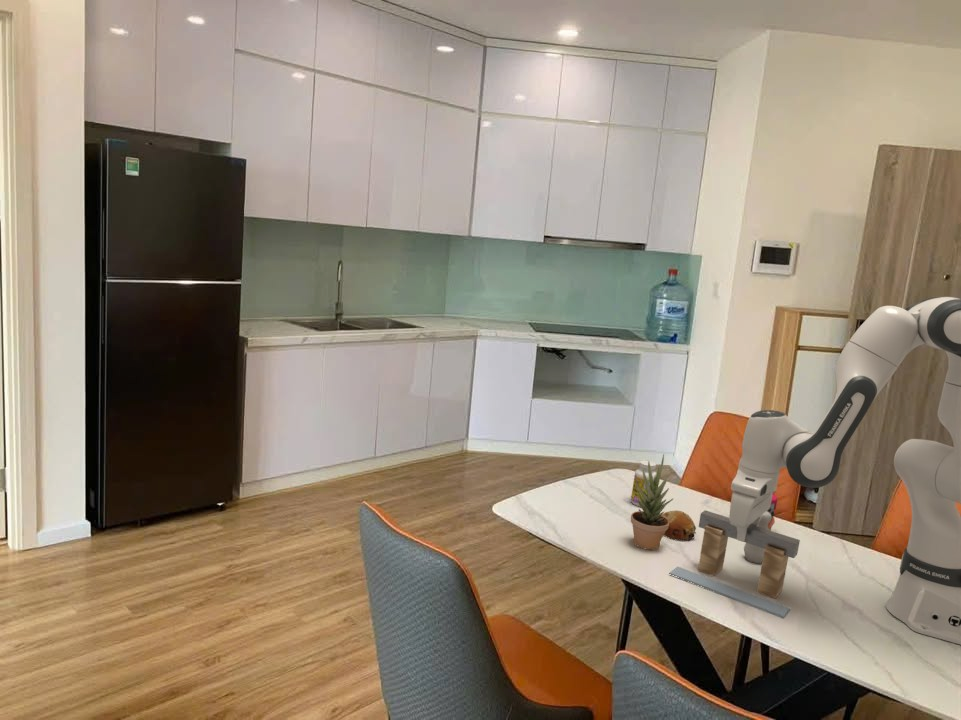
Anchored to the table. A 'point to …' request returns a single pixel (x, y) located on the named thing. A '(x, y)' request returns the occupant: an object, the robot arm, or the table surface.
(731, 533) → the bar
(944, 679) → the table surface
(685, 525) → the bread roll
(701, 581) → the grey flat bar
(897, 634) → the table surface
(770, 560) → the stand near
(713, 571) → the stand far
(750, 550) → the salt shaker
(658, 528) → the potted plant
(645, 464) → the supplement bottle
